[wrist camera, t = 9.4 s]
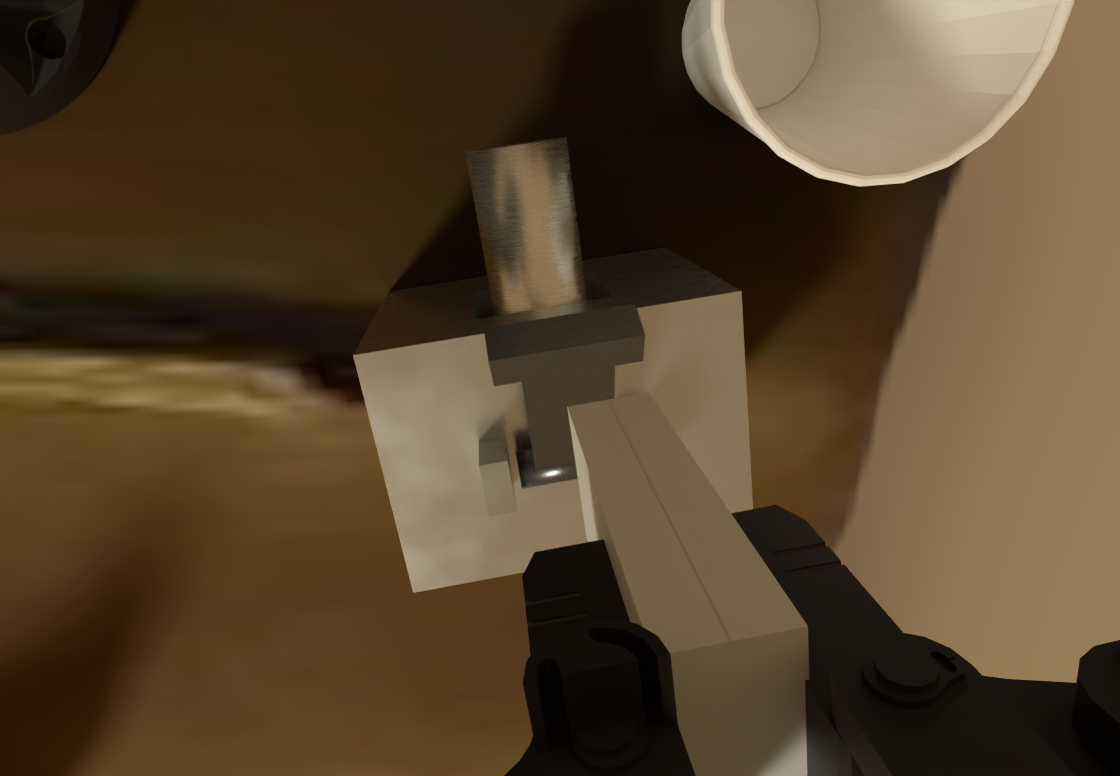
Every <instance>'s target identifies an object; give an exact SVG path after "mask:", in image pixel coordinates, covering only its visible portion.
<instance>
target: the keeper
mask: <svg viewBox="0 0 1120 776" xmlns="http://www.w3.org/2000/svg"><path fill="white" fill-rule="evenodd" d="M484 334H485V341H486V348H487V354H488V361H489V366H490V371H491V375H492V380H493V384H494V386H500V385H506V384H512V383H518V382H521V384H522V391H523V397H524V403H525V409H526V415H527V421H528V427H529V433H530V440H531V446H532V448H530V449H524V450H518V451H516V457H517V464H518V470H519V476H520V481H521V486H522V489H525V488H531V487H536V486H542V485H547V484H553V483H558V482H564V481H570V480H575V479H578V476H577V470H576V463H575V456H574V449H573V442H572V436H571V429H570V422H569V415H568V408H567V407H568V406H574V405H580V404H586V403H591V402H597V401H603V400H609V399H614V396H615V366H618V365H624V364H629V363H635V362H641V361H643V358H644V345H645V333H644V329H643V326H642V323H641V320H640V317H639V314H638V310H637V307H636V304H635V303H634V304H628V305H622V306H616V307H610V308H604V309H598V310H592V311H586V312H580V313H574V314H568V315H562V316H556V317H550V318H544V319H538V320H532V321H526V322H520V323H514V324H508V325H501V326H495V327H489V328H484Z"/></svg>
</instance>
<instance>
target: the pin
mask: <svg viewBox="0 0 1120 776" xmlns="http://www.w3.org/2000/svg"><path fill="white" fill-rule="evenodd" d="M465 153H466V159H467V164H468V170H469V176H470V181H471V187H472V193H473V198H474V204H475V210H476V215H477V221H478V227H479V232H480V238H481V244H482V249H483V255H484V260H485V266H486V272H487V277H488V283H489V289H490V294H491V300H492V306H493V311H494V316H499V315H505V314H511V313H518V312H524V311H530V310H536V309H542V308H548V307H554V306H560V305H566V304H572V303H578V302H584V301H588V300H587V292H586V285H585V277H584V269H583V261H582V254H581V246H580V238H579V231H578V223H577V215H576V207H575V200H574V192H573V184H572V176H571V169H570V161H569V153H568V145H567V138H566V137H561V138H553V139H546V140H539V141H532V142H525V143H518V144H511V145H505V146H498V147H492V148H486V149H480V150H474V151H468V152H465Z"/></svg>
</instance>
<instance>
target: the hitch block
mask: <svg viewBox="0 0 1120 776" xmlns="http://www.w3.org/2000/svg"><path fill="white" fill-rule="evenodd" d="M582 261H583V269H584V277H585V285H586V292H587V300H588V301H584V302H578V303H572V304H566V305H560V306H554V307H548V308H542V309H536V310H530V311H524V312H518V313H511V314H505V315H499V316H494V311H493V306H492V300H491V294H490V289H489V283H488V277H487V276H482V277H476V278H470V279H464V280H458V281H451V282H445V283H439V284H433V285H427V286H420V287H414V288H408V289H402V290H396V291H389V293H388V294H387V296H386V298H385V300H384V302H383V303H382V305H381V307H380V309H379V310H378V312H377V314H376V316H375V318H374V319H373V321H372V323H371V325H370V326H369V328H368V330H367V332H366V334H365V335H364V337H363V339H362V341H361V342H360V344H359V346H358V348H357V350H356V351H355V353H354V355H353V356H354V360H355V364H356V368H357V372H358V376H359V380H360V384H361V388H362V392H363V396H364V400H365V404H366V408H367V412H368V415H369V419H370V423H371V427H372V431H373V435H374V439H375V443H376V447H377V451H378V455H379V459H380V463H381V467H382V471H383V475H384V479H385V483H386V487H387V491H388V495H389V498H390V502H391V506H392V510H393V514H394V518H395V522H396V526H397V530H398V534H399V538H400V542H401V546H402V550H403V554H404V558H405V562H406V566H407V570H408V574H409V578H410V582H411V585H412V589H413V593H414V592H420V591H425V590H431V589H436V588H441V587H447V586H452V585H457V584H463V583H468V582H474V581H479V580H484V579H490V578H495V577H500V576H506V575H511V574H517V573H522V572H525V570H526V568H527V566H528V564H529V562H530V560H531V558H532V556H533V554H534V552H537V551H543V550H548V549H554V548H559V547H564V546H570V545H575V544H581V543H586V542H588V541H587V537H586V531H585V524H584V517H583V510H582V504H581V497H580V490H579V483H578V479H575V480H570V481H564V482H558V483H553V484H547V485H542V486H536V487H531V488H525V489H522V486H521V481H520V476H519V470H518V464H517V457H516V451H518V450H524V449H530V448H532V446H531V440H530V433H529V427H528V421H527V415H526V409H525V403H524V397H523V391H522V384H521V382H518V383H512V384H506V385H500V386H494V384H493V380H492V375H491V371H490V366H489V361H488V354H487V348H486V341H485V334H484V328H489V327H495V326H501V325H508V324H514V323H520V322H526V321H532V320H538V319H544V318H550V317H556V316H562V315H568V314H574V313H580V312H586V311H592V310H598V309H604V308H610V307H616V306H622V305H628V304H634V303H635V304H636V307H637V310H638V314H639V317H640V320H641V323H642V326H643V329H644V333H645V345H644V358H643V361H641V362H635V363H629V364H624V365H618V366H615V396H614V399H615V398H620V397H626V396H632V395H638V394H644V393H649V394H650V395H651V397H652V398H653V400H654V401H655V403H656V404H657V406H658V407H659V408H660V410H661V411H662V413H663V414H664V416H665V417H666V419H667V420H668V422H669V423H670V425H671V426H672V428H673V429H674V430H675V432H676V433H677V435H678V436H679V438H680V439H681V441H682V442H683V444H684V445H685V447H686V448H687V450H688V451H689V453H690V454H691V455H692V457H693V458H694V460H695V461H696V463H697V464H698V466H699V467H700V469H701V470H702V472H703V473H704V475H705V476H706V477H707V479H708V480H709V482H710V483H711V485H712V486H713V488H714V489H715V491H716V492H717V494H718V495H719V497H720V498H721V499H722V501H723V502H724V504H725V505H726V507H727V508H728V510H729V511H730V513H735V512H741V511H746V510H751V509H753V501H752V482H751V463H750V444H749V425H748V406H747V387H746V368H745V348H744V329H743V310H742V291H741V290H739V289H737V288H736V287H734V286H732V285H730V284H729V283H727V282H725V281H723V280H722V279H720V278H718V277H716V276H715V275H713V274H711V273H709V272H708V271H706V270H704V269H702V268H701V267H699V266H697V265H695V264H694V263H692V262H690V261H688V260H687V259H685V258H683V257H682V256H680V255H678V254H676V253H675V252H673V251H671V250H669V249H668V248H666V247H663V248H656V249H650V250H644V251H638V252H631V253H625V254H619V255H613V256H607V257H600V258H594V259H588V260H582Z"/></svg>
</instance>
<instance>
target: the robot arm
mask: <svg viewBox="0 0 1120 776" xmlns="http://www.w3.org/2000/svg"><path fill="white" fill-rule="evenodd" d="M120 6H121V0H0V135H2V134H7V133H11V132H15V131H19V130H22V129H25V128H28V127H30V126H33V125H35V124H38V123H40V122H42V121H44V120H46V119H48V118H49V117H51V116H53V115H55V114H56V113H58V112H59V111H60V110H62V109H63V108H65V107H66V106H67V105H68V104H70V103H71V102H72V101H73V100H74V99H75V98H76V97H77V96H78V95H79V94H80V93H81V92H82V91H83V90H84V89H85V88H86V87H87V85H88V84H89V83H90V82H91V80H92V79H93V78H94V76H95V75H96V73H97V72H98V70H99V69H100V67H101V65H102V63H103V61H104V59H105V58H106V55H107V53H108V51H109V48H110V46H111V43H112V40H113V37H114V34H115V31H116V27H117V23H118V19H119V12H120ZM567 408H568V415H569V422H570V429H571V436H572V442H573V449H574V456H575V463H576V470H577V476H578V483H579V490H580V497H581V504H582V510H583V517H584V524H585V531H586V537H587V541H588V542H586V543H581V544H575V545H570V546H564V547H559V548H554V549H548V550H543V551H537V552H534V554H533V556H532V558H531V560H530V562H529V564H528V566H527V568H526V570H525V572H524V574H523V576H522V578H523V587H524V596H525V604H526V615H527V624H528V634H529V643H530V653H531V656H530V657H529V659H528V660H527V662H526V667H525V673H524V679H523V686H524V691H525V696H526V701H527V706H528V711H529V716H530V721H531V726H532V731H533V738H532V741H531V744H530V746H529V747H528V749H527V750H526V752H525V753H524V755H523V756H522V758H521V759H520V761H519V762H518V763H517V764H516V765H515V766H514V767H513V768H512V769H511V770H510V771H509V772H508V773H507V774H506V775H505V776H1120V640H1118V641H1114V642H1110V643H1105V644H1101V645H1097V646H1094V647H1093V648H1091V649H1090V650H1089V651H1088V652H1087V653H1086V654H1085V655H1084V656H1082V657H1081V658H1080V662H1079V669H1078V676H1077V683H1067V682H1049V681H1032V680H1031V681H1030V680H1014V679H1003V678H995V677H988V676H982V675H981V674H980V673H979V672H978V671H977V670H976V669H975V668H974V667H973V666H972V665H971V664H970V663H969V662H968V661H966V660H965V659H964V658H962V657H961V656H960V655H959V654H957V653H956V652H955V651H953V650H952V649H951V648H949V647H946V646H944V645H942V644H939V643H937V642H935V641H933V640H930V639H928V638H926V637H922V636H917V635H911V634H906V633H903V632H902V631H901V630H900V628H899V627H898V626H897V625H896V624H895V623H894V622H893V620H892V619H891V618H890V617H889V616H888V615H887V614H886V612H885V611H884V610H883V609H882V608H881V607H880V605H879V604H878V603H877V602H876V601H875V600H874V599H873V597H872V596H871V595H870V594H869V593H868V592H867V591H866V589H865V588H864V587H863V586H862V585H861V584H860V582H859V581H858V580H857V579H856V578H855V576H854V575H853V574H852V573H851V572H850V571H849V570H848V568H847V567H846V566H845V565H841V561H840V559H839V558H838V557H837V556H836V555H835V553H834V552H833V551H832V550H831V549H830V548H829V546H828V547H826V546H825V542H824V541H823V540H822V538H821V537H820V536H819V535H818V534H817V533H816V531H815V530H814V529H813V528H812V527H811V526H810V524H809V523H808V522H807V521H806V520H804V519H802V518H800V517H798V516H796V515H795V514H793V513H791V512H789V511H787V510H785V509H783V508H781V507H779V506H777V505H773V506H768V507H762V508H757V509H751V510H746V511H741V512H735V513H730V511H729V510H728V508H727V507H726V505H725V504H724V502H723V501H722V499H721V498H720V497H719V495H718V494H717V492H716V491H715V489H714V488H713V486H712V485H711V483H710V482H709V480H708V479H707V477H706V476H705V475H704V473H703V472H702V470H701V469H700V467H699V466H698V464H697V463H696V461H695V460H694V458H693V457H692V455H691V454H690V453H689V451H688V450H687V448H686V447H685V445H684V444H683V442H682V441H681V439H680V438H679V436H678V435H677V433H676V432H675V430H674V429H673V428H672V426H671V425H670V423H669V422H668V420H667V419H666V417H665V416H664V414H663V413H662V411H661V410H660V408H659V407H658V406H657V404H656V403H655V401H654V400H653V398H652V397H651V395H650V394H649V393H644V394H638V395H632V396H626V397H620V398H615V399H609V400H603V401H597V402H591V403H586V404H580V405H574V406H568V407H567Z"/></svg>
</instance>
